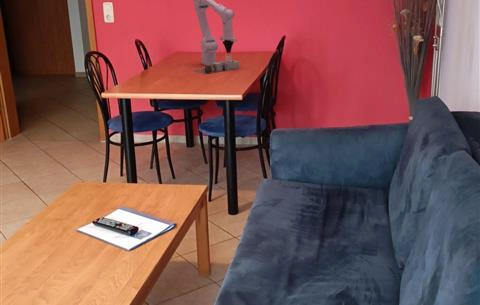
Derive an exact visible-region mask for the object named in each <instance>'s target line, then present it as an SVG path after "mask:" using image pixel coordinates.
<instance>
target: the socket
mask: <svg viewBox="0 0 480 305" xmlns="http://www.w3.org/2000/svg"><path fill="white" fill-rule="evenodd" d="M218 62H219V63H222V68H223V69H225V70H229V71H232V70H231V69H235V70H238V69H237V68H240V61H238V60H233V59H232V62H229V63H227V62H225V60H221V61H218Z"/></svg>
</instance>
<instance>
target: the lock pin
mask: <svg viewBox="0 0 480 305" xmlns="http://www.w3.org/2000/svg"><path fill="white" fill-rule="evenodd" d="M204 69H205V72H212V71H216V67H213V68H212V65H204Z"/></svg>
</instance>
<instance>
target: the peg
mask: <svg viewBox="0 0 480 305" xmlns="http://www.w3.org/2000/svg"><path fill="white" fill-rule="evenodd" d="M224 55H225V56H224V58H225V60H224V61H225V62H227V63H229V62H232V60H233V59H232V58H233V55H232V54H224Z"/></svg>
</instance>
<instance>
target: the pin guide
mask: <svg viewBox="0 0 480 305" xmlns="http://www.w3.org/2000/svg"><path fill="white" fill-rule="evenodd" d="M219 62H220V61H218V62H217V61H216V62H214V63H212V65H211V66H212V68H213V67H216V71H221V70H223V68H222V63H219Z"/></svg>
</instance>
